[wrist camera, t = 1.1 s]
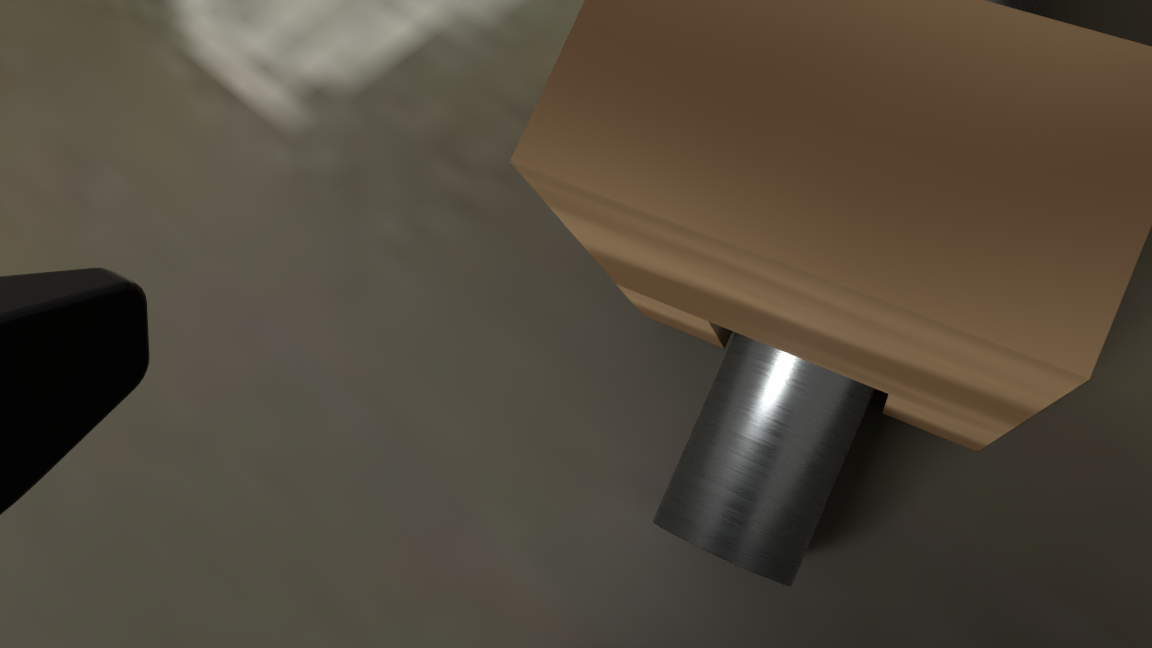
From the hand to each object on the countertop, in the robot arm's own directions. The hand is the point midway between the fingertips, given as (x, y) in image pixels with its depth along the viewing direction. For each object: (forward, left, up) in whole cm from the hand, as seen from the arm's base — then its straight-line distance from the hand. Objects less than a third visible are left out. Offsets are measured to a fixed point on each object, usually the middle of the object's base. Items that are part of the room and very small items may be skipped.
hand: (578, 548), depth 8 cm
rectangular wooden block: (+4, +4, -15) cm, 16 cm away
